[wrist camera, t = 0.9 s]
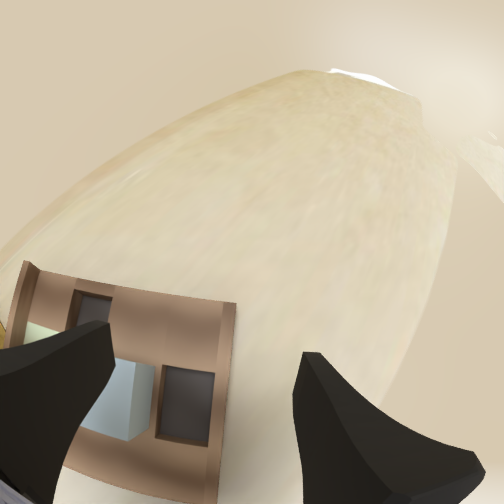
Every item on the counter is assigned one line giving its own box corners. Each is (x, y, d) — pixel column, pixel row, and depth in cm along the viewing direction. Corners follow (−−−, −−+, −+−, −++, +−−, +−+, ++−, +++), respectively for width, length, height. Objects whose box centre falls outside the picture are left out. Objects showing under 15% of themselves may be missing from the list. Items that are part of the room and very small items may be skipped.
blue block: (148, 428, 17) (128, 441, 12) (89, 411, 16) (57, 416, 12) (155, 366, 19) (135, 362, 14) (96, 352, 19) (66, 343, 14)
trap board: (216, 497, 16) (216, 517, 12) (22, 435, 15) (-2, 438, 11) (235, 309, 23) (237, 296, 20) (44, 276, 22) (23, 260, 19)
